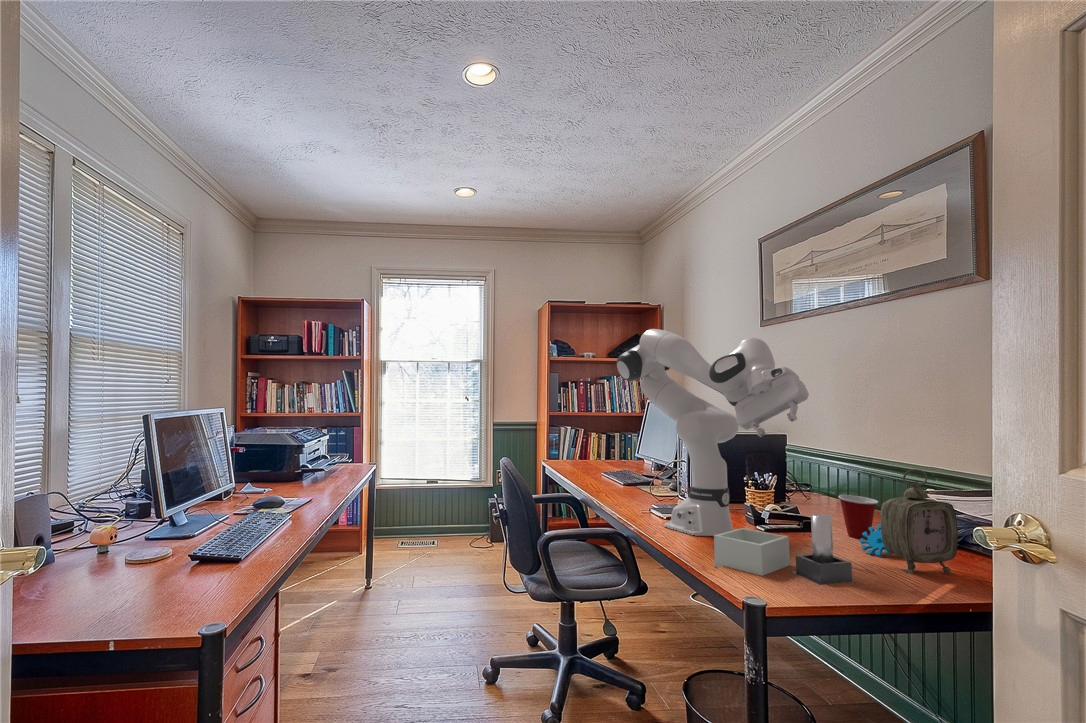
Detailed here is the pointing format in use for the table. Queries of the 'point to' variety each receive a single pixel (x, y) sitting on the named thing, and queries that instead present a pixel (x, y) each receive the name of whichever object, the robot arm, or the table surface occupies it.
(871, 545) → the gear
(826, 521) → the strut
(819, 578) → the socket block
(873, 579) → the table surface
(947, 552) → the tabletop clock
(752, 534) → the bin
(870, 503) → the plastic cup
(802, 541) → the table surface
